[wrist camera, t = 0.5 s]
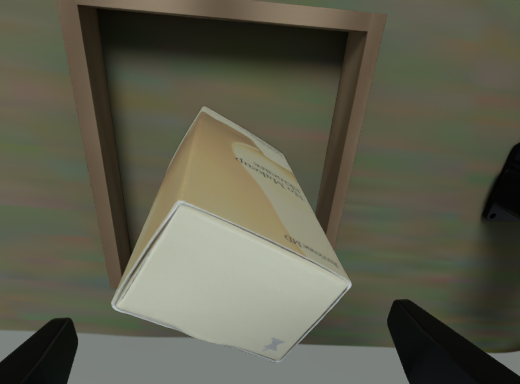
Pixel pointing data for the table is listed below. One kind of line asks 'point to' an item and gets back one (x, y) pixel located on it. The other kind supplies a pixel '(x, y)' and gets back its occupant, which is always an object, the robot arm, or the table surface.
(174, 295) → the skincare box
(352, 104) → the brown wooden frame
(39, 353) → the robot arm
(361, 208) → the table surface
